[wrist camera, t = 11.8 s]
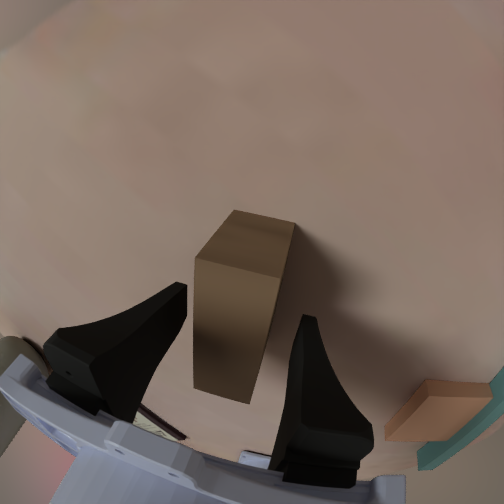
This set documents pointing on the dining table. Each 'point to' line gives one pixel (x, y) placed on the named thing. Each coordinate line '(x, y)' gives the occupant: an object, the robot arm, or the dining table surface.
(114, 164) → the dining table surface
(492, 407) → the rail
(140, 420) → the chocolate bar
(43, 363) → the olive grey vase
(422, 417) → the tile
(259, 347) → the tall cardboard box
